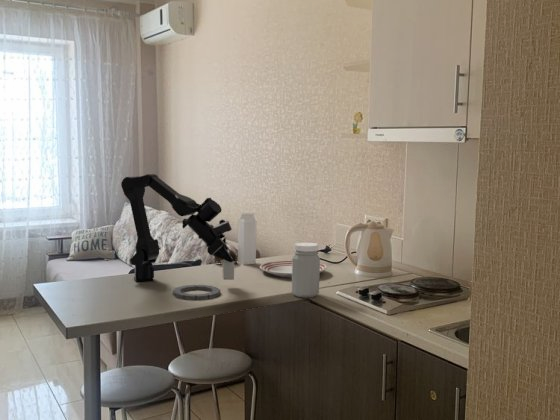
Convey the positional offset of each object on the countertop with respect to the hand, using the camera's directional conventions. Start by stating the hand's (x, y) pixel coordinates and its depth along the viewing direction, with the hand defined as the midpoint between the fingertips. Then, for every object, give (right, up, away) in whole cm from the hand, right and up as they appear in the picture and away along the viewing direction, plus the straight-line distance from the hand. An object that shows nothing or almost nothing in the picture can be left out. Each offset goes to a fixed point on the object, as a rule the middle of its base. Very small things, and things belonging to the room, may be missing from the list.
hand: (232, 259), depth 217 cm
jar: (+26, -12, -6) cm, 29 cm away
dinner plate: (+23, -8, +29) cm, 38 cm away
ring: (-12, -11, -8) cm, 18 cm away
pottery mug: (-6, -6, +46) cm, 47 cm away
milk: (+3, -6, +47) cm, 47 cm away
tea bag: (-2, -7, +1) cm, 7 cm away
